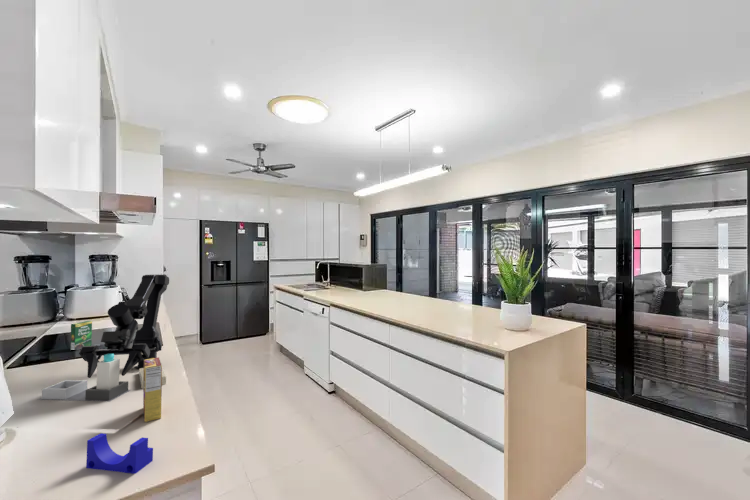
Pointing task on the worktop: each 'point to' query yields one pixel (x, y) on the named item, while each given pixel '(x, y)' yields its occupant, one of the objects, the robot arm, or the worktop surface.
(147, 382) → the candy box
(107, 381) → the plug
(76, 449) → the worktop surface
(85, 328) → the coffee box
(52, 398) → the grey long flat tray
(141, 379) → the electrical outlet
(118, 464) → the blue cradle bracket
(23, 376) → the worktop surface
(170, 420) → the worktop surface
